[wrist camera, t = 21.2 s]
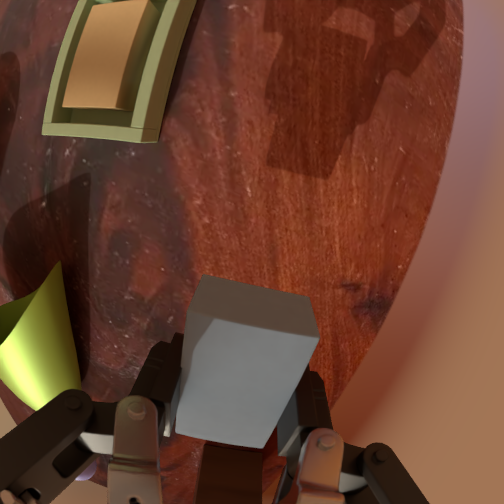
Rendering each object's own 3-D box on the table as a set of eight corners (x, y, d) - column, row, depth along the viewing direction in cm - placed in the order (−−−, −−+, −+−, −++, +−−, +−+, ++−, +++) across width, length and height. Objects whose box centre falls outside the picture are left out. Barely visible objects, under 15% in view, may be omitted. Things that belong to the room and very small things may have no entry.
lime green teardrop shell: (-69, 282, 10) (18, 428, 19) (30, 298, 12) (109, 450, 21) (-23, 239, 17) (35, 381, 26) (75, 241, 19) (117, 395, 28)
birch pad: (109, 17, 12) (92, 5, 10) (161, 13, 12) (149, -2, 10) (83, 109, 14) (61, 107, 12) (133, 111, 15) (115, 108, 12)
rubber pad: (202, 273, 10) (186, 310, 8) (309, 296, 10) (321, 337, 8) (185, 394, 13) (175, 433, 10) (263, 409, 13) (263, 449, 11)
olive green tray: (101, 2, 12) (83, -11, 9) (198, -4, 12) (189, -23, 10) (65, 133, 16) (41, 134, 13) (157, 142, 16) (140, 143, 13)
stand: (204, 444, 27) (192, 523, 17) (262, 452, 28) (261, 530, 17) (197, 469, 31) (188, 533, 20) (246, 477, 31) (243, 540, 21)
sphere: (109, 460, 32) (97, 491, 26) (79, 452, 33) (67, 480, 26) (86, 437, 30) (71, 471, 23) (57, 429, 30) (41, 459, 24)
